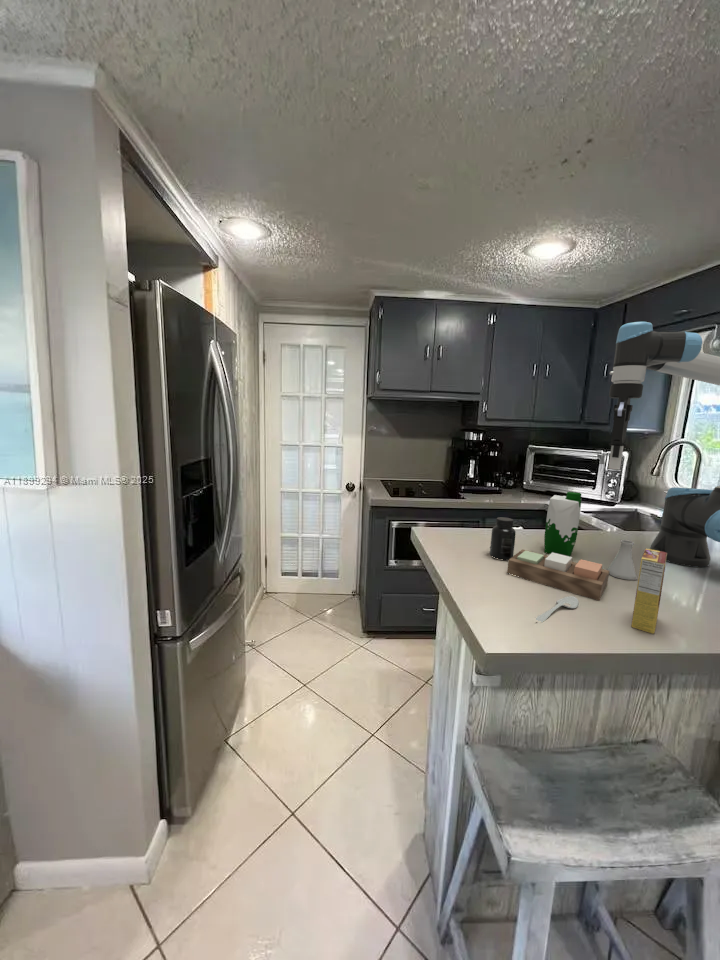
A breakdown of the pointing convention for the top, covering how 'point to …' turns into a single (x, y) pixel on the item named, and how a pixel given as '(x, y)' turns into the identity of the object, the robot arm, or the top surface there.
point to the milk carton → (562, 523)
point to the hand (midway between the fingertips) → (614, 468)
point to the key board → (559, 577)
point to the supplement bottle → (503, 539)
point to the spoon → (570, 600)
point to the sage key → (530, 557)
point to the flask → (623, 562)
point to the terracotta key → (588, 569)
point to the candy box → (649, 590)
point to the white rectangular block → (558, 562)
